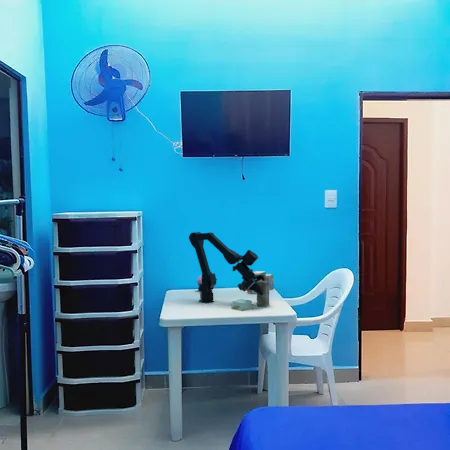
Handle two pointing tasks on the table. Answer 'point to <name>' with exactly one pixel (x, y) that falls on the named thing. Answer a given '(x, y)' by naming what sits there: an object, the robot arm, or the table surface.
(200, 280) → the cupcake
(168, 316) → the table surface
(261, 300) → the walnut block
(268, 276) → the stack of blocks
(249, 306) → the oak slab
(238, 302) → the green slab
